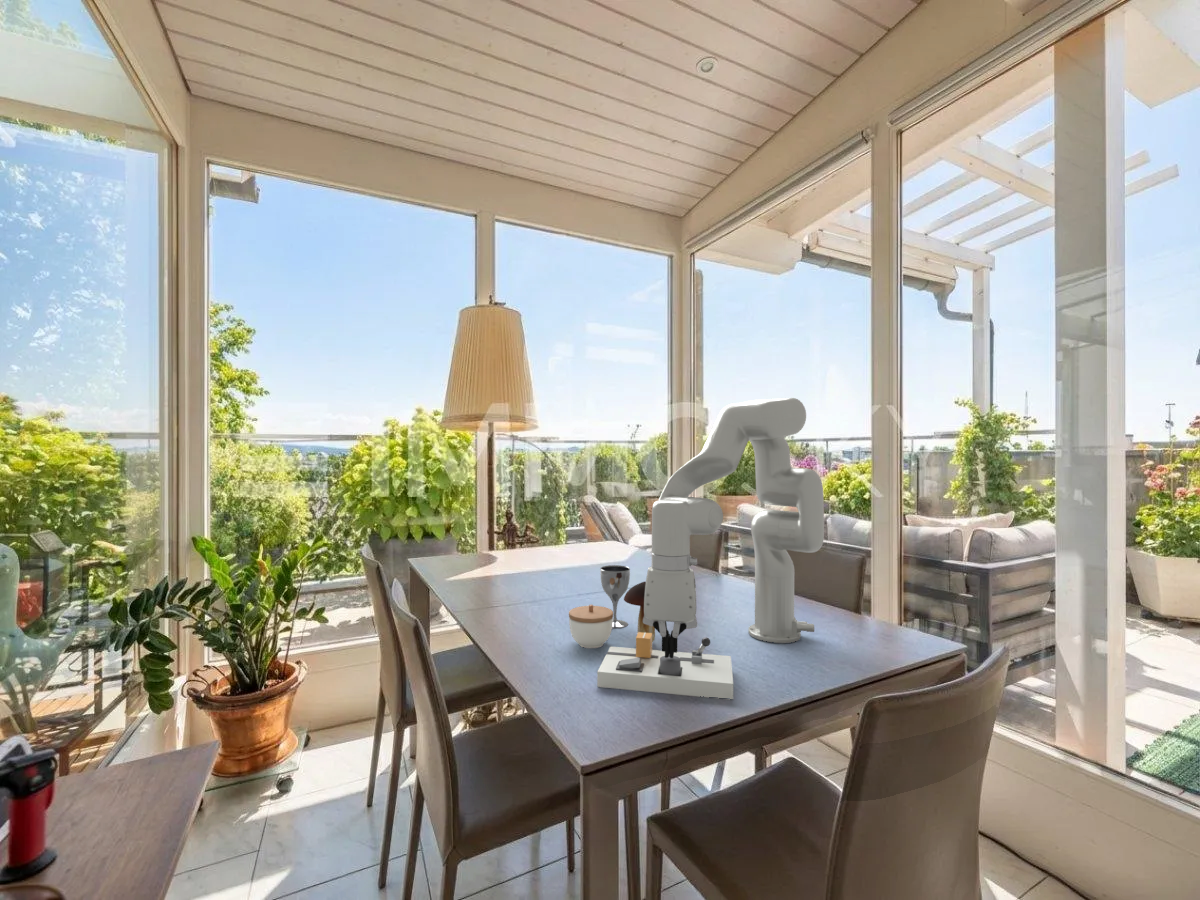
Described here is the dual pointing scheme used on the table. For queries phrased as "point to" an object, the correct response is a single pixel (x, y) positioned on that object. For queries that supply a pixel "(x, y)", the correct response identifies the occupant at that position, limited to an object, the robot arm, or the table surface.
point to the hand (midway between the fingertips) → (669, 655)
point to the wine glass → (615, 587)
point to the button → (670, 666)
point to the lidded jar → (590, 625)
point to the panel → (644, 675)
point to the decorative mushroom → (637, 598)
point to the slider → (644, 645)
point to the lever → (703, 646)
